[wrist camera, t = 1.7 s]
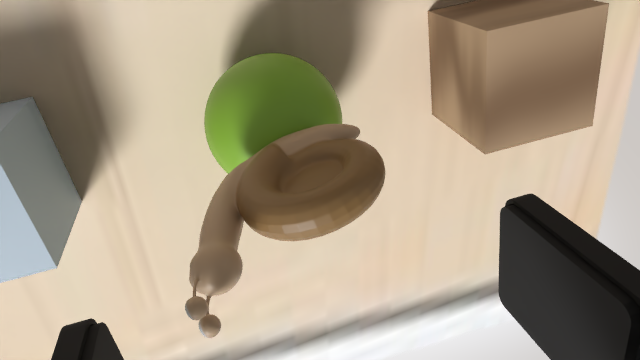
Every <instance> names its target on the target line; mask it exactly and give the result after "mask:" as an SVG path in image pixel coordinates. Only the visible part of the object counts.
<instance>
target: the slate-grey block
mask: <svg viewBox="0 0 640 360" xmlns="http://www.w3.org/2000/svg"><path fill="white" fill-rule="evenodd" d="M81 203H82V201H81V198H80V196H79V194H78V192H77V190H76V188H75V186H74V184H73V182H72V179H71V177H70V175H69V173H68V171H67V169H66V167H65V165H64V162H63V160H62V158H61V156H60V154H59V152H58V150H57V148H56V146H55V143H54V141H53V139H52V137H51V135H50V133H49V131H48V129H47V126H46V124H45V122H44V120H43V118H42V116H41V114H40V112H39V109H38V107H37V105H36V103H35V101H34V99H33V97H29V98H24V99H20V100H15V101H10V102H6V103H1V104H0V283H2V282H5V281H9V280H13V279H17V278H21V277H24V276H28V275H32V274H36V273H39V272H43V271H47V270H51V269H55V268H57V266H58V264H59V261H60V258H61V256H62V253H63V250H64V248H65V245H66V243H67V240H68V237H69V235H70V232H71V229H72V227H73V224H74V221H75V219H76V216H77V213H78V211H79V208H80V205H81Z"/></svg>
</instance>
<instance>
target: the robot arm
mask: <svg viewBox="0 0 640 360" xmlns="http://www.w3.org/2000/svg"><path fill="white" fill-rule="evenodd" d="M499 297H500V300H501V302H502V304H503V305H504V307H505V308H506V309H507V310H508V311H509V313H510V314H511V315H512V316H513V317H514V318H515V319H516V321H517V322H518V323H519V324H520V325H521V326H522V327H523V329H524V330H525V331H526V332H527V333H528V334H529V335H530V337H531V338H532V339H533V340H534V341H535V342H536V343H537V345H538V346H539V347H540V348H541V349H542V350H543V351H544V353H546V355H547V356H548V357H549V358H550V359H551V360H640V270H638V269H637V268H636V267H634V266H633V265H631V264H630V263H629V262H627V261H626V260H624V259H623V258H622V257H620V256H619V255H617V254H616V253H615V252H613V251H612V250H611V249H609V248H608V247H606V246H605V245H604V244H602V243H601V242H599V241H598V240H597V239H595V238H594V237H593V236H591V235H590V234H588V233H587V232H586V231H584V230H583V229H581V228H580V227H579V226H577V225H576V224H574V223H573V222H572V221H570V220H569V219H568V218H566V217H565V216H563V215H562V214H561V213H559V212H558V211H556V210H555V209H554V208H552V207H551V206H550V205H548V204H547V203H545V202H544V201H543V200H541V199H540V198H538V197H537V196H536V195H534V194H527V195H523V196H520V197H516V198H513V199H509V200H508V201H507V202H506V204H505V207H503V208H502V209H501V212H500V249H499ZM51 360H124V359H123V357H122V355H121V353H120V351H119V349H118V347H117V345H116V343H115V341H114V339H113V337H112V335H111V333H110V331H109V329H108V327H107V326H106V324H105V323H103V322H102V323H98V324H97V323H96V321H95V320H94V319H87V320H84V321H80V322H77V323H73V324H70V325H66V326H64V327H63V328H62V329H61V331H60V334H59V337H58V340H57V343H56V346H55V349H54V353H53V356H52V359H51Z"/></svg>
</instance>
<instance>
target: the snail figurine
mask: <svg viewBox="0 0 640 360" xmlns="http://www.w3.org/2000/svg"><path fill="white" fill-rule="evenodd" d="M204 124H205V133H206V138H207V142H208V145H209V147H210V150H211V152H212V154H213V156H214V157H215V159H216V160H217V162H218V163H219V165H220V166H221V167H222V168H223V169H224V170H225V171H226V172H227V173H228V175H227V176H226V177H225V179H224V180H223V181H222V183H221V184H220V186H219V188H218V189H217V191H216V192H215V194H214V196H213V198H212V200H211V202H210V205H209V207H208V209H207V212H206V215H205V218H204V221H203V225H202V229H201V233H200V240H199V249H198V252H197V253H196V255H195V256H194V257H193V259H192V261H191V263H190V277H189V280H190V283H191V285H192V287H193V297H192V298H190V299H189V300H188V301H187V302H186V304H185V310H186V313H187V315H188V316H189V317H190V318H191V319H193V320H200V321H199V329H200V331H201V333H202V334H203V335H204V336H205V337H207V338H212V337H214V336H216V335H217V334H218V333H219V331H220V328H221V323H220V320H219V319H218V317H216V316H215V315H209V301H210V298H211V296H217V295H221V294H224V293H226V292H228V291H229V290H230V289H232V288H233V287H234V286H235V285H236V283H237V282H238V280H239V278H240V276H241V273H242V260H241V257H240V255H239V253H238V252H237V249H238V244H239V240H240V236H241V231H242V227H243V222H244V221H245V222H246V223H247V224H248V225H249V226H250V227H251V228H252V229H253V230H254V231H256V232H257V233H259V234H261V235H263V236H265V237H268V238H272V239H276V240H281V241H299V240H308V239H312V238H316V237H320V236H323V235H326V234H328V233H331V232H334V231H336V230H338V229H340V228H342V227H344V226H346V225H347V224H349V223H351V222H352V221H354V220H355V219H356V218H358V217H359V216H361V215H362V214H363V213H364V212H365V211H366V210H367V209H368V208H369V207H370V206H371V205H372V204H373V203H374V201H375V200H376V198H377V197H378V195H379V193H380V191H381V189H382V186H383V184H384V179H385V167H384V162H383V159H382V157H381V156H380V154H379V153H378V152H377V150H376V149H375V148H374V147H372V146H371V145H369V144H368V143H366V142H363V141H360V140H356V138H357V137H358V136H359V134H360V130H359V128H357V127H355V126H352V125H347V124H342V113H341V108H340V104H339V101H338V98H337V95H336V93H335V91H334V89H333V88H332V86H331V84H330V83H329V81H328V80H327V79H326V78H325V77H324V75H323V74H322V73H321V72H320V71H318V70H317V69H316V68H315V67H313V66H312V65H311V64H309V63H307V62H306V61H304V60H302V59H299V58H297V57H294V56H290V55H286V54H280V53H265V54H259V55H255V56H251V57H248V58H246V59H244V60H242V61H240V62H238V63H236V64H235V65H233V66H232V67H231V68H229V69H228V70H227V71H226V72H225V73H224V74H223V75H222V76H221V77H220V78H219V80H218V81H217V82H216V84H215V86H214V87H213V89H212V91H211V93H210V95H209V98H208V101H207V105H206V109H205V119H204ZM196 291H197V292H199V293H201V294H204V295H206V296H207V299H206V300H205V299H203V298H202V297H198V296H196ZM205 315H206V316H205Z"/></svg>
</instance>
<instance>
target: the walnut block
mask: <svg viewBox="0 0 640 360" xmlns="http://www.w3.org/2000/svg"><path fill="white" fill-rule="evenodd" d="M608 7H609V3H603V2H598V1H592V0H477V1H472V2H467V3H463V4H458V5H454V6H449V7H445V8H440V9H435V10H431V11H428V26H429V49H430V73H431V97H432V115H434V116H435V117H436V118H438V119H439V120H440V121H442V122H443V123H444V124H446V125H447V126H448V127H450V128H451V129H452V130H453V131H455V132H456V133H457V134H459V135H460V136H461V137H463V138H464V139H465V140H467V141H468V142H469V143H471V144H472V145H473V146H475V147H476V148H477V149H479V150H480V151H481V152H483V153H484V154H488V153H492V152H495V151H499V150H503V149H507V148H510V147H514V146H518V145H522V144H526V143H529V142H533V141H537V140H541V139H544V138H548V137H552V136H556V135H559V134H563V133H567V132H571V131H574V130H578V129H582V128H586V127H590V126H592V125H593V118H594V110H595V103H596V96H597V88H598V81H599V74H600V66H601V59H602V52H603V44H604V37H605V29H606V22H607V15H608Z"/></svg>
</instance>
